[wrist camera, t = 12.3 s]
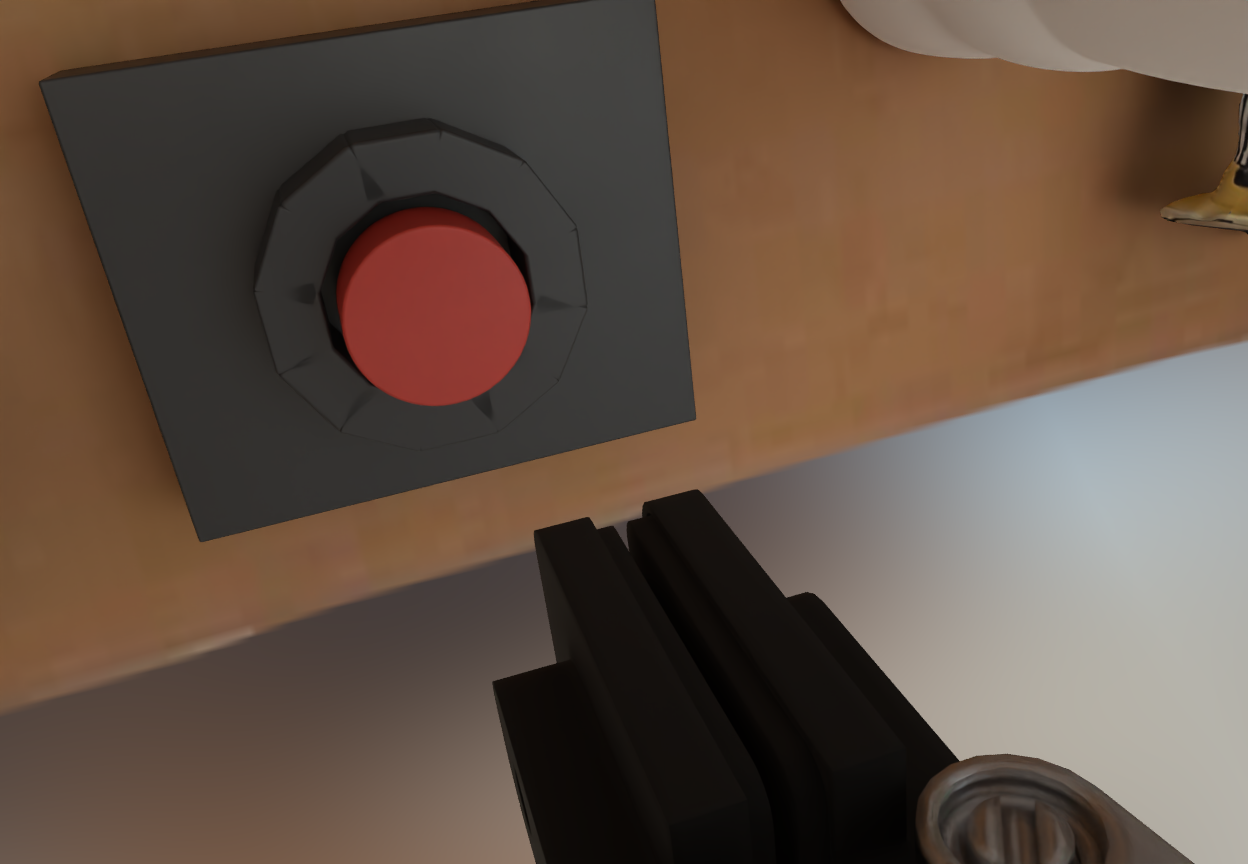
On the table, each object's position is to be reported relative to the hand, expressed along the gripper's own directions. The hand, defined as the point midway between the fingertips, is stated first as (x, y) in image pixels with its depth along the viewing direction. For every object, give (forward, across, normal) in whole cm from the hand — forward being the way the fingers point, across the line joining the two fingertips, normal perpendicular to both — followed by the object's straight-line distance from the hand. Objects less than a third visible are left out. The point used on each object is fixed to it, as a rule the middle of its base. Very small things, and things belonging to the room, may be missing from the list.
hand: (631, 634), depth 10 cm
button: (+12, +1, 0) cm, 13 cm away
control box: (+16, +1, 0) cm, 16 cm away
